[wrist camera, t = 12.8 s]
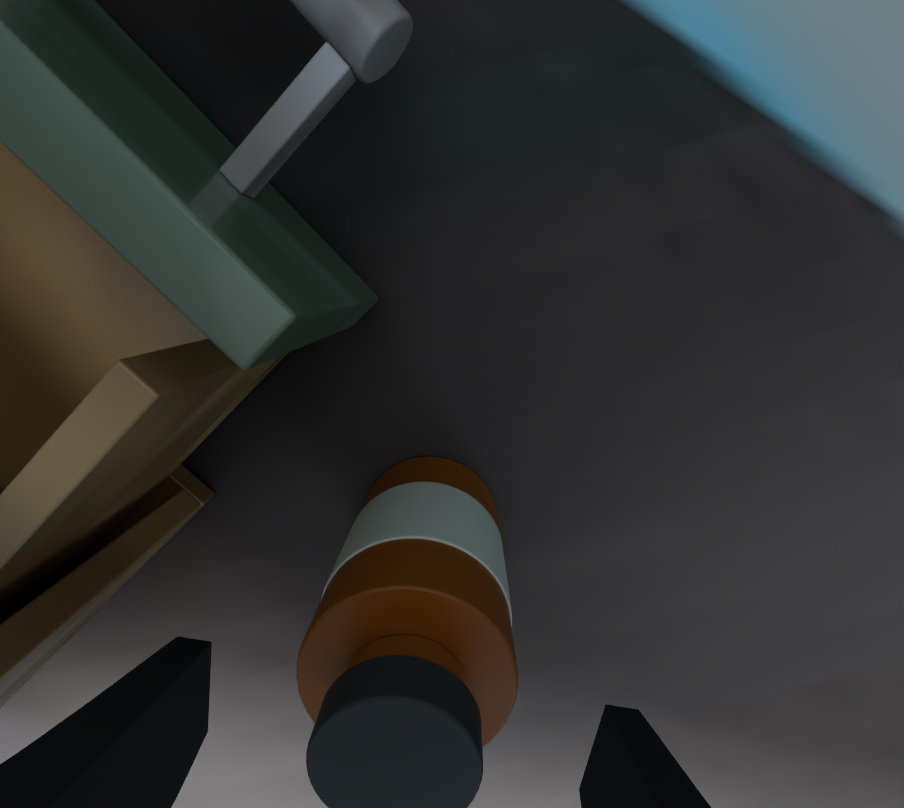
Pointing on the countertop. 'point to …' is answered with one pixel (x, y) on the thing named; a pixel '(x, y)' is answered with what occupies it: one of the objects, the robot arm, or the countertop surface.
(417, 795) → the bottle
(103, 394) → the drawer
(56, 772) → the robot arm
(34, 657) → the cabinet
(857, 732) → the countertop surface
